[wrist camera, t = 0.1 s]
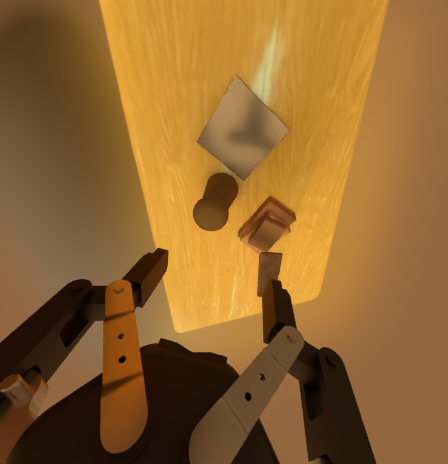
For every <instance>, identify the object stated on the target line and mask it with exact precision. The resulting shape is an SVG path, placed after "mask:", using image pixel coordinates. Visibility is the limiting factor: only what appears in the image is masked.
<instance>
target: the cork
mask: <svg viewBox="0 0 448 464" xmlns="http://www.w3.org/2000/svg"><path fill="white" fill-rule="evenodd" d="M237 193H238V186H237V183H236V181H235V179H234V178H233V177H231V176H230V175H228V174H226V173H217V174H214V175H213V176H211V177H210V178H209V180H208V182H207V185H206V188H205V192H204V195H203V198H202V199H200V200H199V201H198V202H197V203H196V205H195V206H194V210H193V218H194V220H195V222H196V224H197V225H198V226H199V227H200V228H202V229H204V230H206V231H216V230H219V229H221V228H222V227H223V226H224V225H225V224H226V222H227V220H228V214H229V212H228V209H229V207H230V206H231V204H232V203H233V201H234V199H235V198H236V196H237Z"/></svg>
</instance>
